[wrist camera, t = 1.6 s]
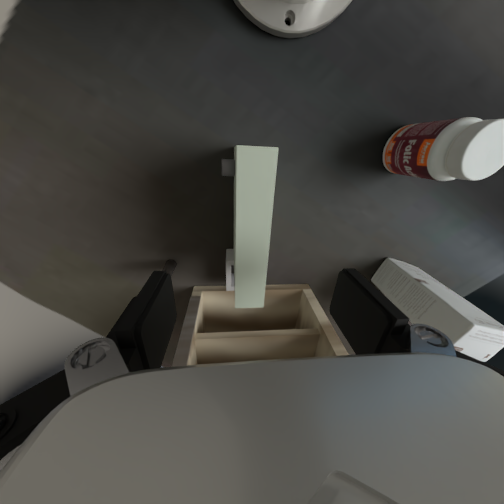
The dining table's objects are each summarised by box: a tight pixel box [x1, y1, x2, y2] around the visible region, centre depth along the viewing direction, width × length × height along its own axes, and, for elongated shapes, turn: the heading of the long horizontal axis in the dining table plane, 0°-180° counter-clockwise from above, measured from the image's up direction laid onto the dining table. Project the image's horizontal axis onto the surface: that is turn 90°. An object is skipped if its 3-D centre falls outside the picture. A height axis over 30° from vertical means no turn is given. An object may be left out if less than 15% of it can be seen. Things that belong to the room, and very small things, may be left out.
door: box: [222, 145, 278, 308], centre depth 19 cm, size 16×4×10 cm, turn 177°
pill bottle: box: [383, 117, 504, 181], centre depth 18 cm, size 5×5×8 cm
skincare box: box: [371, 258, 504, 362], centre depth 24 cm, size 6×4×12 cm
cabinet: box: [162, 260, 348, 367], centre depth 23 cm, size 16×19×15 cm
